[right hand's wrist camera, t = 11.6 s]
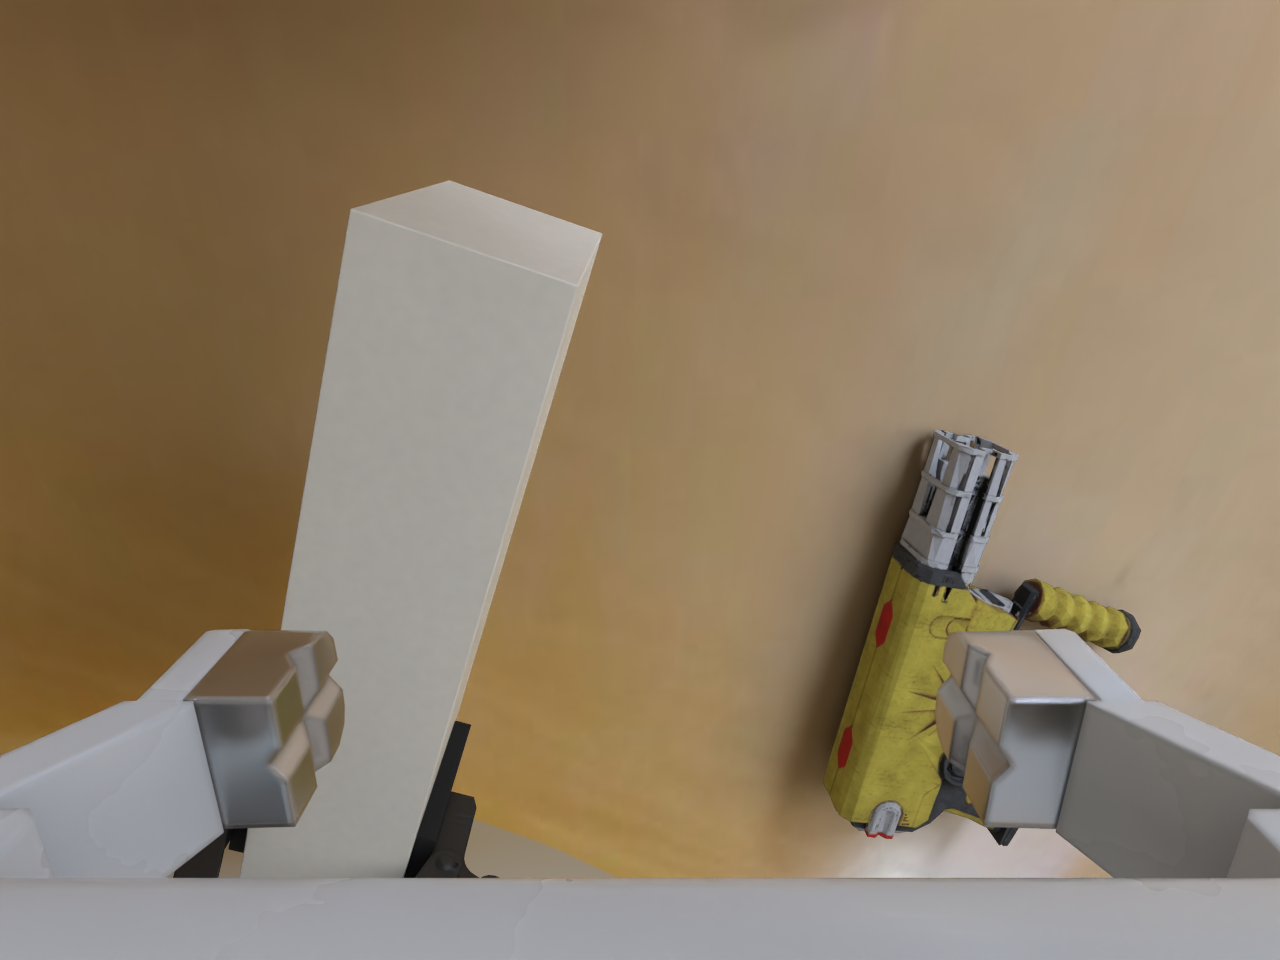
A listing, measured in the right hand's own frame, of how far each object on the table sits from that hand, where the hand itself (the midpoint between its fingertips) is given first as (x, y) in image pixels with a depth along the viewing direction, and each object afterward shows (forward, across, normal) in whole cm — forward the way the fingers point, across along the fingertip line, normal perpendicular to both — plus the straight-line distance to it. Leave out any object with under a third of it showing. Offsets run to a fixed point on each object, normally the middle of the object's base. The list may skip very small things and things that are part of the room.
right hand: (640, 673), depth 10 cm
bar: (+21, -8, -6) cm, 23 cm away
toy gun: (+32, +21, -19) cm, 42 cm away
